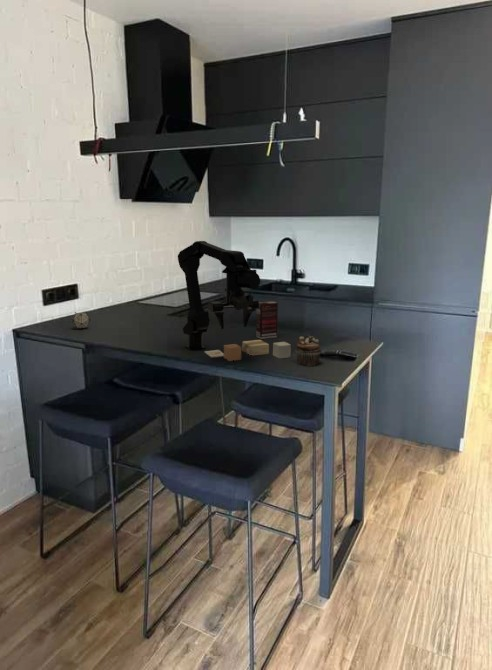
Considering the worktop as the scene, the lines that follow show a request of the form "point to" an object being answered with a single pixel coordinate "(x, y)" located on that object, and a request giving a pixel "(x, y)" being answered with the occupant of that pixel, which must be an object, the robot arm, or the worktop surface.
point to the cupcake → (308, 351)
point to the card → (214, 353)
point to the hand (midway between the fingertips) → (233, 327)
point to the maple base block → (255, 347)
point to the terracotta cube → (232, 352)
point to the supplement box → (266, 320)
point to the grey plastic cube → (281, 349)
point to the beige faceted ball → (81, 320)
